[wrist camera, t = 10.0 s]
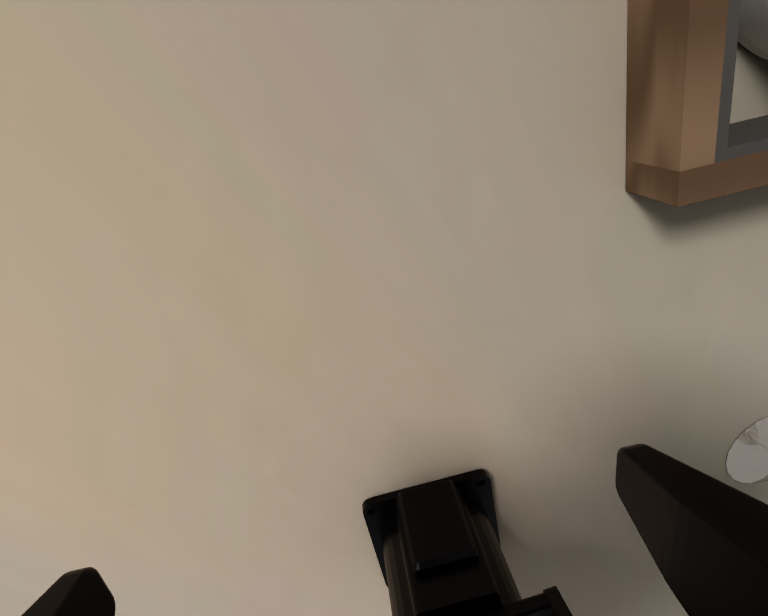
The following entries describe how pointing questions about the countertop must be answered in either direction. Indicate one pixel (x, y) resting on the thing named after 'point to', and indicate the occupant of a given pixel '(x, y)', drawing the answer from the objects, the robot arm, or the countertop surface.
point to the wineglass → (750, 454)
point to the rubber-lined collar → (687, 104)
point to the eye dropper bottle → (754, 27)
